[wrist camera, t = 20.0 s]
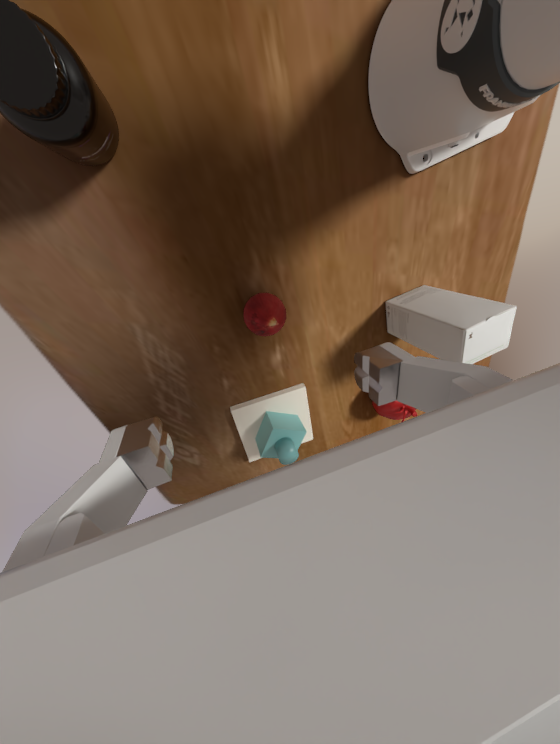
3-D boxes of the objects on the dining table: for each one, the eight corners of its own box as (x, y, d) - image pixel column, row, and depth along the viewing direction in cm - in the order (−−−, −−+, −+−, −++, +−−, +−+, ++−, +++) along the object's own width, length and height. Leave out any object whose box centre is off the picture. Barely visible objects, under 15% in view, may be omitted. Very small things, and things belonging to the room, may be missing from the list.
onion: (260, 333, 41) (274, 354, 34) (231, 311, 38) (240, 330, 31) (284, 304, 39) (303, 320, 33) (256, 278, 36) (271, 291, 30)
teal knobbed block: (255, 438, 50) (264, 470, 43) (266, 411, 47) (278, 441, 41) (285, 440, 52) (298, 471, 46) (297, 414, 50) (313, 443, 43)
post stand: (303, 383, 48) (312, 397, 44) (311, 435, 55) (320, 451, 52) (229, 406, 46) (233, 424, 42) (248, 457, 53) (253, 476, 49)
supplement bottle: (116, 180, 27) (73, 157, 17) (33, 144, 25) (-74, 91, 15) (125, 100, 25) (82, 19, 15) (34, 49, 22) (-95, -94, 12)
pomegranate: (402, 400, 59) (434, 426, 51) (363, 411, 57) (390, 441, 49) (409, 362, 53) (446, 385, 46) (367, 373, 51) (397, 399, 44)
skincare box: (385, 332, 48) (457, 373, 35) (383, 298, 44) (463, 330, 31) (424, 315, 49) (509, 349, 36) (426, 281, 45) (521, 305, 32)
